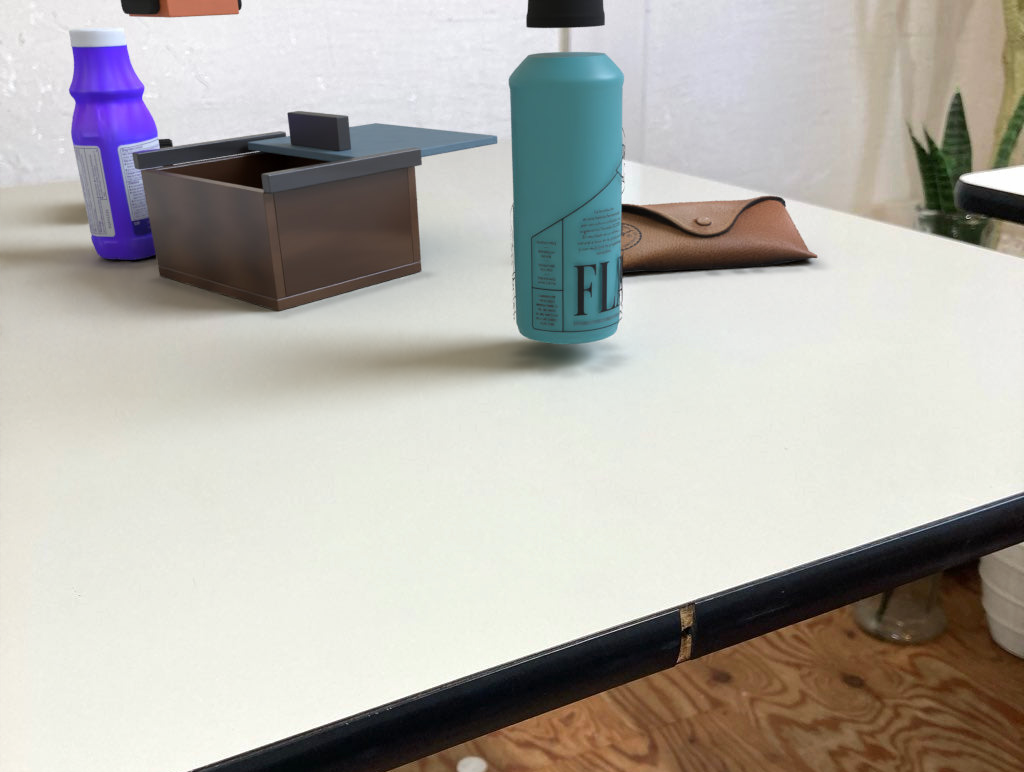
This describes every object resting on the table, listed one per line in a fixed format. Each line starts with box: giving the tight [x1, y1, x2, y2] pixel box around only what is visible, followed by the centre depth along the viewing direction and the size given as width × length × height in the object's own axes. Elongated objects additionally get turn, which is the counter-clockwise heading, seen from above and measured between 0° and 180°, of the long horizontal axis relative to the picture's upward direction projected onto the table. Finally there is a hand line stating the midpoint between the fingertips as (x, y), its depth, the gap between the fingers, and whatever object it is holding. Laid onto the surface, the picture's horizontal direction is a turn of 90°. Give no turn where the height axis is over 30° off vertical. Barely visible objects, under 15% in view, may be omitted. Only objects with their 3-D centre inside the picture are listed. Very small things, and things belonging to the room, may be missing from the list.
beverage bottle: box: [508, 0, 626, 345], centre depth 58 cm, size 6×7×20 cm
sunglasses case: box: [620, 195, 818, 274], centre depth 82 cm, size 18×7×7 cm
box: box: [132, 130, 423, 312], centre depth 79 cm, size 17×14×9 cm
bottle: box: [68, 27, 163, 261], centre depth 84 cm, size 7×6×17 cm
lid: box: [248, 110, 498, 162], centre depth 83 cm, size 15×14×3 cm
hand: (183, 8), depth 60 cm, fingers closed on block, 4 cm apart
